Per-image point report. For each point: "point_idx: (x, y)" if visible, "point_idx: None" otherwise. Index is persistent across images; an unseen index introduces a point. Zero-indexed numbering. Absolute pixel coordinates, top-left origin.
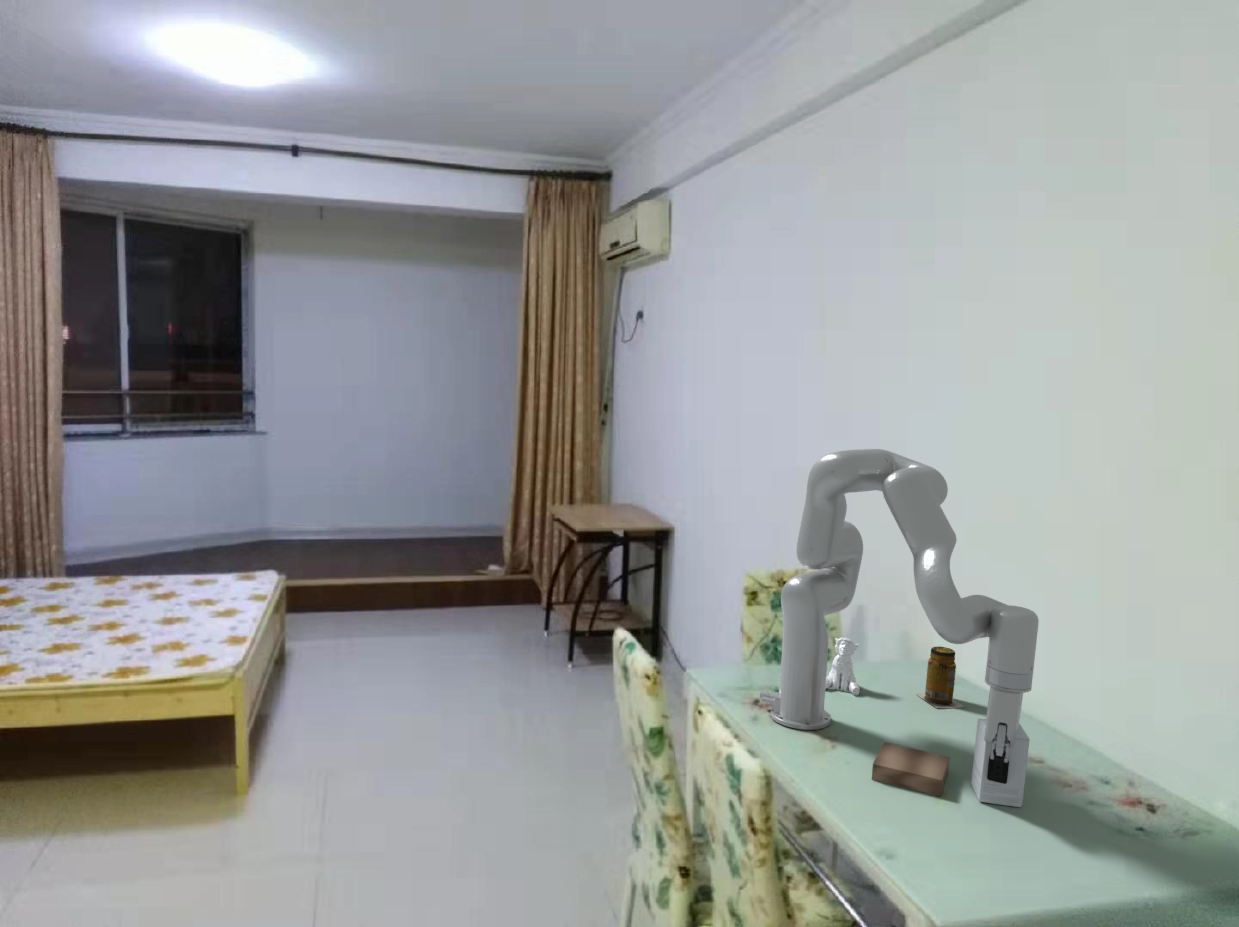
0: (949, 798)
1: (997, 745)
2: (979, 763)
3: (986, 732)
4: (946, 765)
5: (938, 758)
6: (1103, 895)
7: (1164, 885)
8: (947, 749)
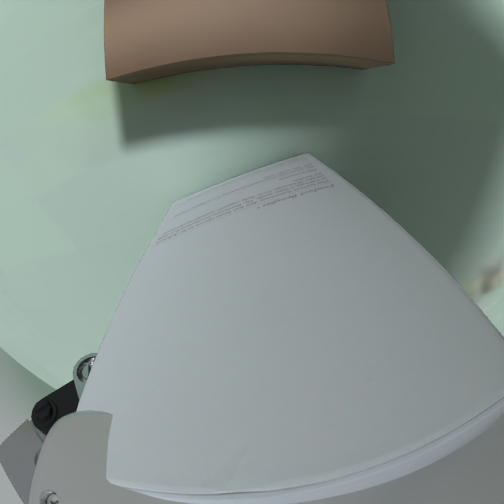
0: (138, 112)
1: (2, 451)
2: (193, 244)
3: (33, 482)
4: (289, 51)
5: (346, 18)
6: (53, 384)
7: None
8: (494, 86)
